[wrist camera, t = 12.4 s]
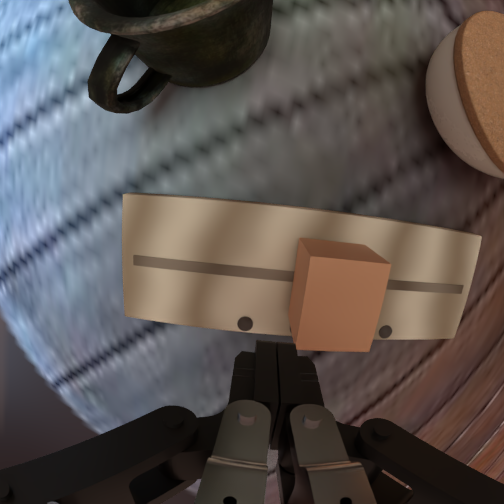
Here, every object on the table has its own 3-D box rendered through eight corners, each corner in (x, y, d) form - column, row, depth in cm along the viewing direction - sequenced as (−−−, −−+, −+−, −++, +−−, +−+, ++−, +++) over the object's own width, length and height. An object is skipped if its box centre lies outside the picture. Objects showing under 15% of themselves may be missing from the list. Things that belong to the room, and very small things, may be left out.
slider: (365, 244, 22) (391, 264, 17) (350, 318, 23) (369, 351, 19) (299, 237, 22) (310, 256, 17) (288, 314, 23) (294, 349, 19)
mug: (299, 9, 19) (325, -84, 7) (209, 155, 22) (160, 140, 11) (187, -30, 18) (152, -115, 6) (98, 103, 21) (0, 71, 10)
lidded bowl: (462, 206, 23) (550, 231, 12) (372, 93, 21) (446, 48, 10) (519, 125, 20) (596, 123, 10) (445, 24, 18) (513, -19, 8)
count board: (472, 233, 23) (483, 236, 22) (446, 331, 26) (454, 339, 24) (130, 192, 23) (122, 194, 21) (131, 308, 26) (124, 317, 24)
